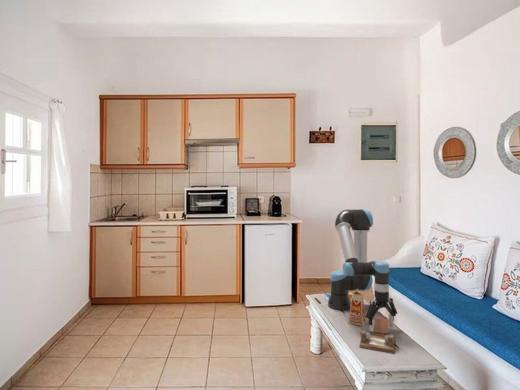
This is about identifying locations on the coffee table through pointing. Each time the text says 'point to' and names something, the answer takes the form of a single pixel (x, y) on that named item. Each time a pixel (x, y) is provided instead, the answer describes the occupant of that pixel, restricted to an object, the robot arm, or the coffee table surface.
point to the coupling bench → (377, 341)
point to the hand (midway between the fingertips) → (381, 328)
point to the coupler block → (381, 324)
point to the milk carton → (357, 309)
